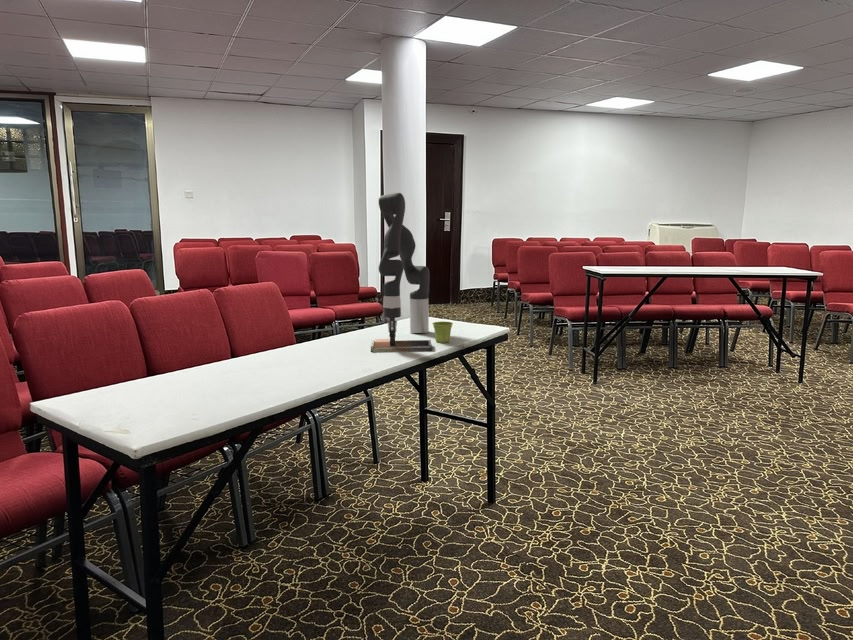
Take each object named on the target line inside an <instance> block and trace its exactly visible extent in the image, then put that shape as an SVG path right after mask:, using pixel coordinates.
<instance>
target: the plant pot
mask: <svg viewBox="0 0 853 640" xmlns="http://www.w3.org/2000/svg"><path fill="white" fill-rule="evenodd" d="M431 324H432V326H433V328H434V334H435V342H436V343H441V344H444V343H449V342H450V339H451V331H452V327H453V325H454V323H453V322H451V321H435V322H432V323H431Z"/></svg>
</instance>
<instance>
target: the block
mask: <svg viewBox="0 0 853 640" xmlns="http://www.w3.org/2000/svg"><path fill="white" fill-rule="evenodd" d="M374 341H375V347H374V348H391V347H390V338H381V339H380V338H377V339H375V340H374Z"/></svg>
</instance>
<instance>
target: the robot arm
mask: <svg viewBox="0 0 853 640" xmlns="http://www.w3.org/2000/svg"><path fill="white" fill-rule="evenodd" d="M378 207H379V210H380V213H381V215H382V217H383V219H384V220H385V223H386V225H387V227H388V229H387V230H386V233H385V234H384V238H383V253H382V257H381V259H380V262H379V265H378V272H379V274H380V275H381V276H383V277H394V279H393V280H389V281H385V282H384V283H383V300H382V306H383V309H382V310H383V314H382V315H383V317H384V318H386V319H389V320H387V326H388V327H387V330H388V333H389V339H390V346H395V341H396V337H397V336H396V334H397V326H398V320H396V319H398V318H401V317H402V312H401V311H402V303H401V281H402V276H403V273H404V275H405V278H406V281H407V283H408V284H410V285H418V286H419V288H418V289H416V290H414V291H411V292H409V319H410V320H409V325H410V326H409V328H410V332H411V333H410V334H413V333H425V334H428V333H429V332H430V330H429V329H430V327H429V326H430V325H429V322H430V321H429V319H430V318H429V317H430V316H429V314H430V313H429V307H430V306H429V294H430V277H431V276H430V275H431V273H430V269H429V267H428V266H425V265H414V264H413V260H412V259H413V255H414V253H415V250H416V241H415V238H414V236H413V233H412V231H411V230H410V229H409V228H407V227H406V226H405V225H404V224H403V223H404V218H405V212H406V200H405V197H404V195H403V194H402V193H401V192H394V193H393V192H392V193H388V194H383V195H380V196H379V197H378ZM396 257H399V258H400V259H393V258H396Z"/></svg>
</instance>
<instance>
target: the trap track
mask: <svg viewBox="0 0 853 640" xmlns="http://www.w3.org/2000/svg"><path fill="white" fill-rule="evenodd" d="M374 346H375V340H372V341H371V344H370V353H382V352H383V353H387V352H388V353H389V352H391V353H393V351H401V352H432V350H433V344H432V341H431V339H418V340H417V339H416V340H415V339H413V340H407V339H406V340H395V346H401V347H390V348H375V347H374Z"/></svg>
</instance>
